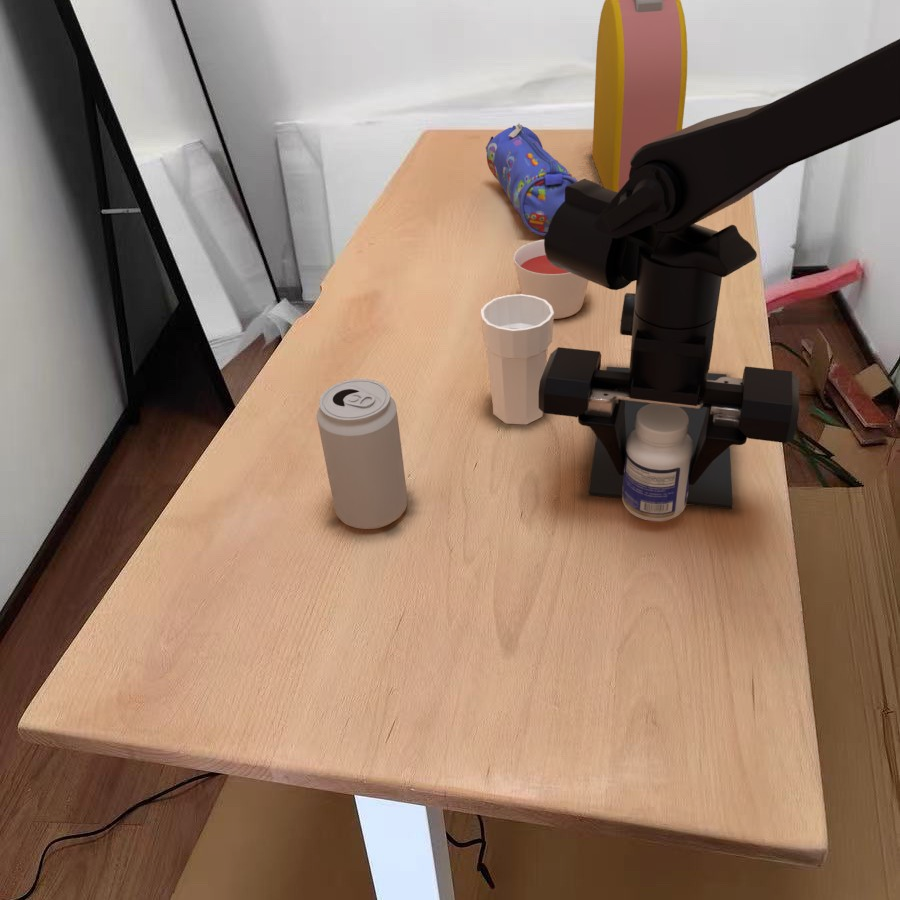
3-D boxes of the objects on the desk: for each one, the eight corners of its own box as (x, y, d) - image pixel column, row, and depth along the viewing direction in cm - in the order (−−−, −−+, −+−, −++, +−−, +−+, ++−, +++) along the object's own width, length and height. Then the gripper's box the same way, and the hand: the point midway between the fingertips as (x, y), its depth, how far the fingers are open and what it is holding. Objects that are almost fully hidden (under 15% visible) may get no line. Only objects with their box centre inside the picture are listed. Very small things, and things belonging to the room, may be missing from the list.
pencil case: (485, 184, 132) (482, 120, 126) (539, 177, 133) (540, 113, 127) (522, 244, 115) (521, 174, 109) (585, 235, 116) (587, 165, 110)
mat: (606, 369, 90) (606, 366, 90) (725, 377, 88) (726, 374, 88) (588, 495, 75) (588, 491, 75) (732, 509, 73) (732, 505, 72)
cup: (478, 396, 88) (473, 300, 81) (541, 385, 89) (541, 289, 82) (495, 434, 83) (490, 335, 76) (561, 422, 84) (563, 323, 77)
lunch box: (675, 203, 122) (697, -3, 105) (610, 207, 122) (622, 2, 106) (648, 151, 138) (663, -35, 122) (591, 155, 139) (599, -30, 122)
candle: (579, 283, 105) (581, 234, 101) (601, 319, 98) (603, 268, 94) (507, 292, 105) (506, 244, 101) (524, 329, 98) (523, 279, 94)
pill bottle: (646, 473, 75) (654, 389, 70) (698, 499, 72) (711, 414, 67) (608, 503, 72) (614, 418, 67) (661, 532, 69) (672, 446, 64)
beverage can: (360, 478, 79) (341, 368, 71) (421, 496, 76) (409, 384, 69) (321, 523, 75) (297, 410, 67) (385, 543, 72) (368, 429, 65)
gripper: (813, 267, 65) (777, 433, 74) (566, 249, 70) (563, 407, 79) (816, 344, 56) (776, 519, 66) (536, 318, 61) (537, 484, 71)
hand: (656, 476), depth 71 cm, fingers closed on pill bottle, 5 cm apart
